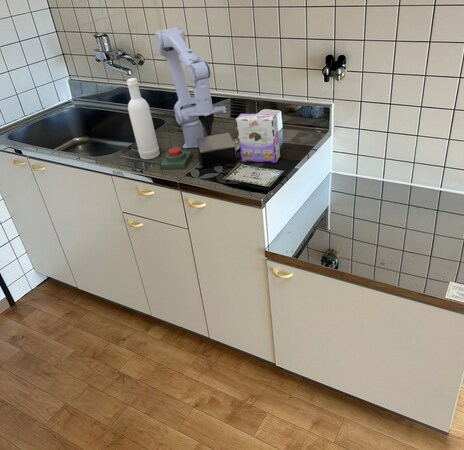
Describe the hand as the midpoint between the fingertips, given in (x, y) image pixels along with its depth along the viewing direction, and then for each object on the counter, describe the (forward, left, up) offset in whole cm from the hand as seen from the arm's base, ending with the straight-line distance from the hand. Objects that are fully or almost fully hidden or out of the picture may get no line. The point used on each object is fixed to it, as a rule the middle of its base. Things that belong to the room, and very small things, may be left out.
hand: (208, 134), depth 170 cm
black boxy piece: (0, +2, -10) cm, 10 cm away
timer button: (+1, -14, -7) cm, 15 cm away
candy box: (+1, +18, -10) cm, 21 cm away
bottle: (-6, -27, -10) cm, 29 cm away
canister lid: (0, +2, -4) cm, 4 cm away
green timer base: (+1, -14, -10) cm, 17 cm away
